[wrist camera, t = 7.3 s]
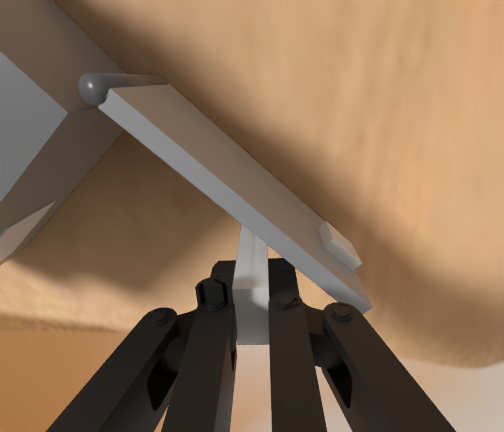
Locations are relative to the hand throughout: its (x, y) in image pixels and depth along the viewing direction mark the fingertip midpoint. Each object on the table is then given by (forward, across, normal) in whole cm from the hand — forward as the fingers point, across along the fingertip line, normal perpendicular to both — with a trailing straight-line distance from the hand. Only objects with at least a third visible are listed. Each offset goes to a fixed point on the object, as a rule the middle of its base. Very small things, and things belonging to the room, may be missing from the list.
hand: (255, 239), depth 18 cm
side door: (+2, 0, +4) cm, 4 cm away
